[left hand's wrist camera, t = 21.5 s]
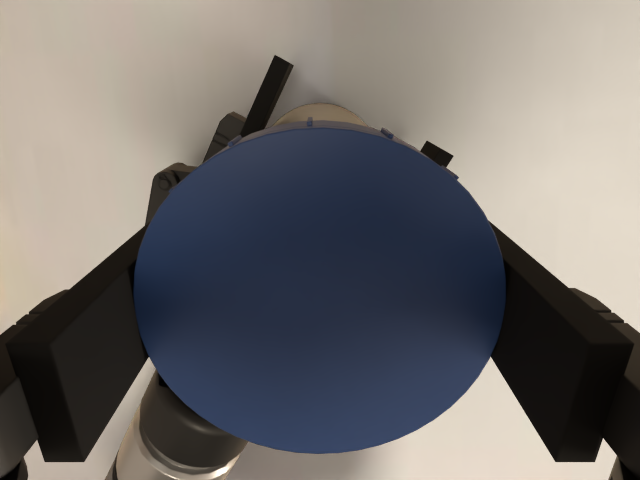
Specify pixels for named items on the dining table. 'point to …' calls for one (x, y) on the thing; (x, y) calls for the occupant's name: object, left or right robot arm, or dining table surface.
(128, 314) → the left robot arm
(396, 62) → the dining table surface
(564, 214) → the dining table surface
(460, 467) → the dining table surface
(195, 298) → the lid
